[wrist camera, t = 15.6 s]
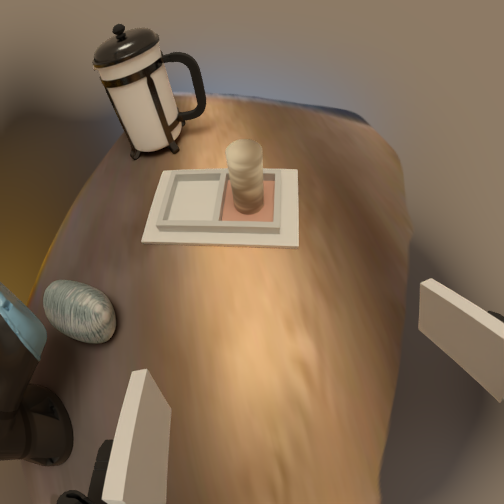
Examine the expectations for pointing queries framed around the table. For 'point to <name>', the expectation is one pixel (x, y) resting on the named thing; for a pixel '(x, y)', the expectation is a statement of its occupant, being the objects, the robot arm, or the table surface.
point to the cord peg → (246, 175)
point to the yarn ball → (79, 311)
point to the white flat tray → (222, 211)
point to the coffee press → (145, 88)
